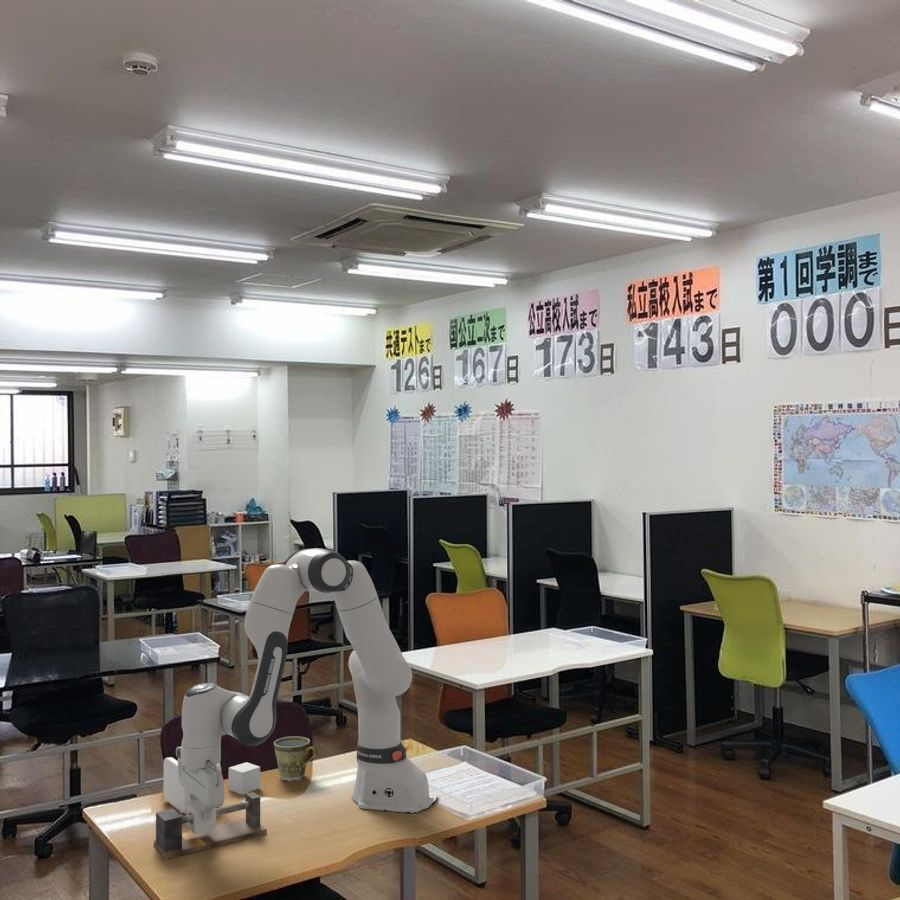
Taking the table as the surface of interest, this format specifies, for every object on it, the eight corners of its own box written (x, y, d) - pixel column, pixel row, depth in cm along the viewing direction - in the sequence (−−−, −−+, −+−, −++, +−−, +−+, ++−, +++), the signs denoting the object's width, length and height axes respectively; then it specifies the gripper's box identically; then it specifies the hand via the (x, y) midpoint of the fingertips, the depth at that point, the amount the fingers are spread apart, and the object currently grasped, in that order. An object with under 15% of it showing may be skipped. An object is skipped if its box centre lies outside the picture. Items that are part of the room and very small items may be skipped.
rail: (251, 821, 226) (251, 788, 226) (266, 833, 218) (266, 799, 219) (153, 845, 212) (153, 810, 212) (166, 858, 204) (166, 822, 205)
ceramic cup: (266, 780, 254) (266, 744, 254) (286, 769, 263) (286, 734, 264) (306, 787, 249) (306, 750, 249) (325, 775, 258) (325, 739, 258)
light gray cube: (242, 795, 244) (242, 772, 244) (228, 790, 247) (228, 767, 247) (260, 788, 248) (260, 766, 248) (246, 783, 252) (246, 761, 252)
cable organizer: (161, 800, 240) (161, 755, 240) (199, 790, 247) (199, 747, 247) (184, 817, 228) (184, 770, 228) (223, 807, 235) (223, 761, 235)
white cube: (207, 821, 217) (207, 797, 218) (216, 829, 213) (216, 805, 213) (186, 826, 215) (186, 802, 215) (195, 834, 210) (195, 809, 210)
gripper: (231, 764, 207) (231, 826, 207) (198, 742, 224) (198, 798, 224) (204, 770, 204) (204, 832, 203) (173, 746, 220) (173, 804, 220)
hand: (201, 814), depth 214 cm, fingers closed on white cube, 6 cm apart
